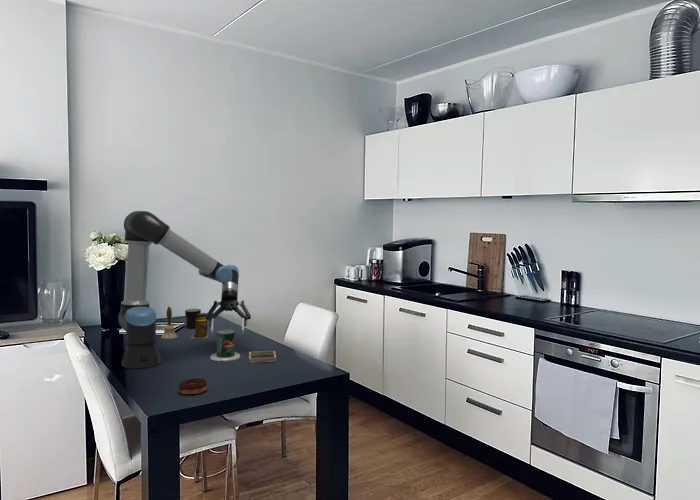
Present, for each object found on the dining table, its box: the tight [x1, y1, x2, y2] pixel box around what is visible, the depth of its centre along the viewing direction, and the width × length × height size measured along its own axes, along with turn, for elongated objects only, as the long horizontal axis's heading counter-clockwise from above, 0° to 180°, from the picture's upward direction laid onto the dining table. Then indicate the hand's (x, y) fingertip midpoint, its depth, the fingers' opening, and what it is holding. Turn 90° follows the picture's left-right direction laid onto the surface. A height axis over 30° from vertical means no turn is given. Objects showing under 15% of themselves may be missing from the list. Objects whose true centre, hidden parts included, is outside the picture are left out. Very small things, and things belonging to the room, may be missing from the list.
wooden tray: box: [248, 350, 277, 364], centre depth 221 cm, size 12×12×2 cm
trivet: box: [209, 352, 241, 362], centre depth 224 cm, size 13×13×1 cm
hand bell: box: [160, 306, 178, 340], centre depth 258 cm, size 8×8×16 cm
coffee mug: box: [184, 308, 202, 330], centre depth 283 cm, size 12×9×10 cm
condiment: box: [190, 312, 209, 339], centre depth 261 cm, size 7×8×12 cm
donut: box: [177, 377, 208, 395], centre depth 180 cm, size 10×10×4 cm
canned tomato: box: [216, 328, 236, 358], centre depth 223 cm, size 8×8×11 cm
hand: (227, 331), depth 226 cm, fingers open, 13 cm apart
